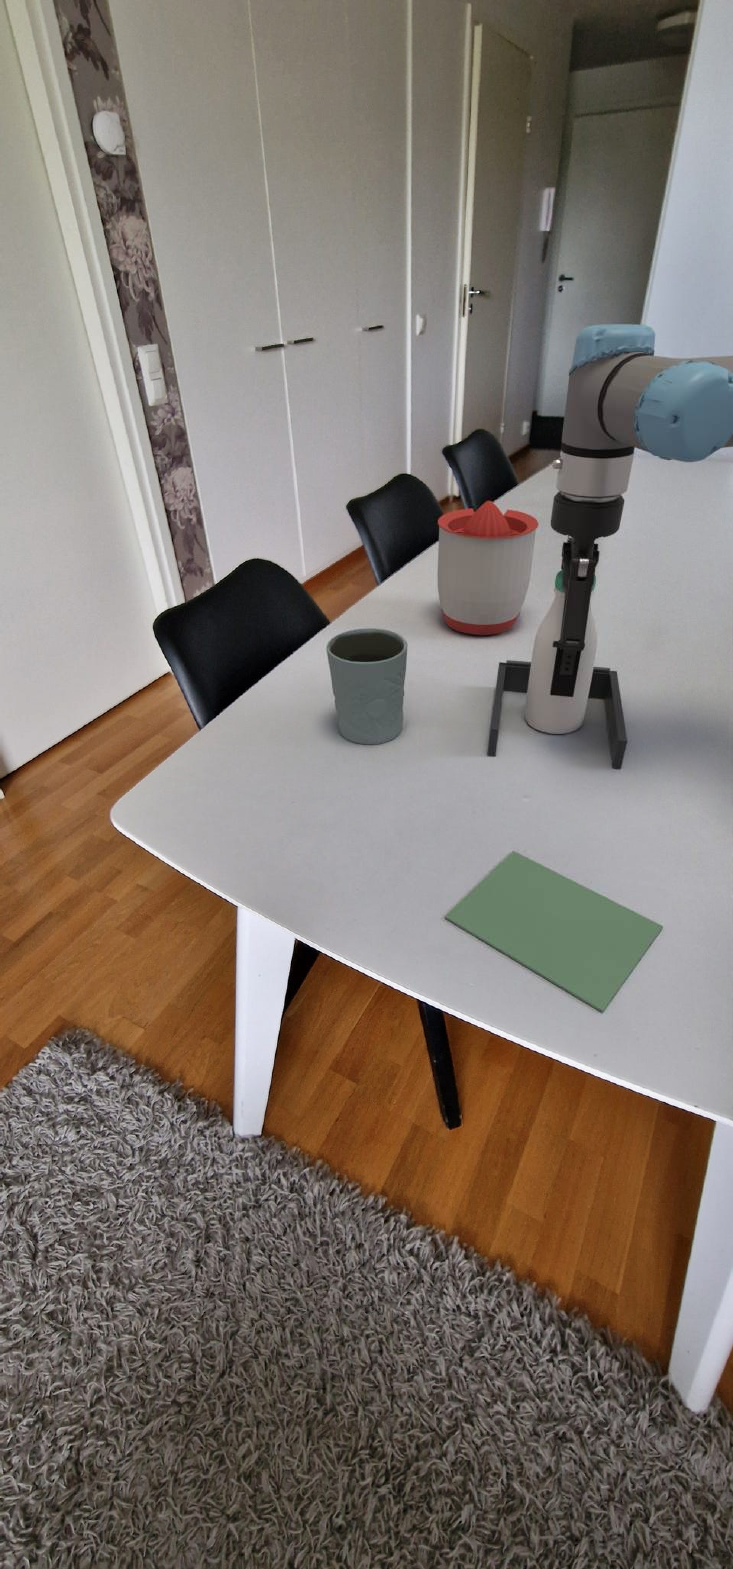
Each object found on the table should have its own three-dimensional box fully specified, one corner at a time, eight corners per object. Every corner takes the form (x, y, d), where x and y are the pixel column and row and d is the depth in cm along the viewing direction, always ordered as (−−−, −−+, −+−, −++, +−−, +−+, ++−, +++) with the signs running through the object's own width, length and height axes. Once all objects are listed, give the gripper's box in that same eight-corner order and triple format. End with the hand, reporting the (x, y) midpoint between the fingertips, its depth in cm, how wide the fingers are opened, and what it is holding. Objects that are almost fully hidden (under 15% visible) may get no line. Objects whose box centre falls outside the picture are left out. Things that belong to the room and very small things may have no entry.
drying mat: (662, 928, 65) (663, 926, 64) (602, 1013, 57) (603, 1010, 57) (513, 852, 73) (513, 850, 73) (444, 918, 66) (444, 916, 66)
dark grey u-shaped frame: (496, 687, 102) (499, 658, 99) (611, 696, 99) (617, 667, 96) (487, 755, 88) (490, 724, 85) (620, 769, 85) (628, 737, 82)
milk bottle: (589, 735, 91) (618, 585, 79) (529, 736, 91) (549, 586, 79) (575, 705, 97) (601, 562, 85) (519, 706, 97) (537, 563, 85)
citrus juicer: (526, 603, 126) (540, 486, 114) (525, 645, 112) (541, 517, 101) (439, 599, 129) (444, 483, 117) (428, 639, 115) (432, 513, 103)
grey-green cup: (383, 755, 88) (382, 669, 81) (316, 735, 92) (309, 651, 85) (419, 718, 95) (421, 636, 88) (355, 701, 99) (352, 621, 92)
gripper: (554, 466, 87) (533, 629, 100) (554, 524, 68) (528, 716, 81) (617, 468, 86) (587, 633, 98) (635, 528, 67) (595, 722, 80)
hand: (561, 670), depth 90 cm, fingers open, 12 cm apart
